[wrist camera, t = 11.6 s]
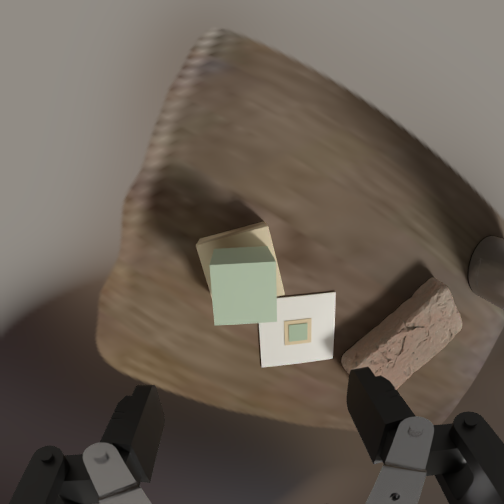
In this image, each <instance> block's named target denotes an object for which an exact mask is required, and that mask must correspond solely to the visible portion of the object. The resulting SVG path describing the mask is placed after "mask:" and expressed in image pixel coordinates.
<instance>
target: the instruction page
mask: <svg viewBox="0 0 504 504" xmlns="http://www.w3.org/2000/svg"><path fill="white" fill-rule="evenodd" d="M335 296H336V292H328V293H319V294H310V295H300V296H290V297H280V298H277V322H266V323H259V334H260V350H261V365H262V367H271V366H280V365H289V364H297V363H305V362H312V361H319V360H326V359H332V358H333V347H334V327H335Z"/></svg>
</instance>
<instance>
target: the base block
mask: <svg viewBox="0 0 504 504" xmlns="http://www.w3.org/2000/svg"><path fill="white" fill-rule="evenodd" d="M257 246H268V248H269V250H270V252H271V254H272V255H273V257H274V259H275V261H276V289H277V296H281V295H285V293H284V289H283V285H282V280H281V276H280V272H279V268H278V264H277V260H276V256H275V252H274V248H273V244H272V240H271V236H270V232H269V228H268V225H267V224H266V223H265V222H260V223H256V224H252V225H248V226H245V227H241V228H237V229H233V230H230V231H226V232H222V233H219V234H215V235H211V236H207V237H204V238H200V239H199V241H198V243H197V244H196V248H197V251H198V255H199V258H200V261H201V265H202V268H203V271H204V274H205V278H206V281H207V284H208V287H209V290H210V293H211V297H212V290H211V278H210V266H209V265H210V261H211V258H212V254H213V251H214V249H219V248H238V247H257Z"/></svg>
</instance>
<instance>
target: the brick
mask: <svg viewBox="0 0 504 504" xmlns="http://www.w3.org/2000/svg"><path fill="white" fill-rule="evenodd" d="M461 328H462V321H461V317H460V313H459V312H458V310H457V308H456V305H455V303H454V300H453V296H452V294H451V292H450V289H449V288H448V287H447V286H446V285H444V284H443V283H442V282H440V281H439V280H437V279H435V278H434V277H431V278H430V279H428V280H427V281H426V282H425V283H424V284H423V285H421V286H420V287H419V288H418V289H417V290H416V291H415V293H414V294H413V295H412V297H411V298H409V299H408V300H407V301H405V302H404V303H402V304H401V305H400V307H398V308H397V309H396V310H395V311H394V312H393V313H392V314H390V315H389V316H388V317H387V318H386V319H384V320H383V321H382V322H381V323H380V324H379V326H376V327H375V328H373V329H372V330H371V331H370V332H369V333H368V334H366V335H365V336H364V337H363V338H361V339H360V340H359V341H358V342H356V344H355V345H353V346H352V347H351V348H350V349H349V350H347V351H346V352H345V353H344V354H343V356H342V359H341V363H342V365H343V367H344V369H345V370H346V372H347V373H348V374H349V373H350V370H352V369H357V368H363V367H369V368H370V369H371V371H372V372H373V374H374V375H375V376H380V375H381V376H383V377H384V378H386V379H388V380H389V381H390V382H391V383H392V384H393V386H394V387H395V390H396V389H397V388H399V387H400V386H401V384H403V383H404V382H405V381H406V380H407V379H408V378H409V377H410V376H411V375H412V373H413V372H415V371H417V370H418V369H419V368H420V367H422V366H423V365H424V364H425V363H427V362H428V361H429V360H430V359H431V358H432V357H434V356H435V355H436V354H437V353H438V352H439V351H440V350H441V349H443V348H444V347H445V346H446V345H447V344H448V342H449V341H451V340H452V339H453V338H454V336H455V334H457V333H458V332H459V331H460V330H461Z"/></svg>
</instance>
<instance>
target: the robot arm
mask: <svg viewBox="0 0 504 504" xmlns="http://www.w3.org/2000/svg"><path fill="white" fill-rule="evenodd" d="M468 277H469V284H470V287H471V289H472V291H473V292H474V293H475V294H476V295H478V296H480V297H482V298H484V299H485V300H487V301H489V302H491V303H492V304H494V305H496V306H498V307H500V308H501V309H503V310H504V239H503V238H499V237H496V236H489V237H486V238H485V239H483V240H482V241H481V242H480V243H479V244H478V246H477V247H476V249H475V251H474V253H473V255H472V258H471V261H470V266H469V275H468ZM347 407H348V411H349V413H350V415H351V417H352V419H353V421H354V424H355V426H356V428H357V430H358V432H359V434H360V436H361V438H362V440H363V443H364V445H365V447H366V449H367V451H368V453H369V456H370V458H371V460H372V462H373V464H376V463H380V462H383V463H384V465H383V467H382V469H381V472H380V474H379V476H378V479H377V481H376V483H375V485H374V487H373V490H372V491H371V494H370V496H369V498H368V500H367V502H366V504H417V503H418V500H419V497H420V494H421V491H422V488H423V484H424V481H425V477H426V476H429V475H435V477H436V479H437V481H438V483H439V485H440V486H441V488H442V491H443V492H444V494H445V496H446V498H447V500H448V502H449V504H504V444H503V442H502V441H501V440H500V438H499V437H498V436H497V435H496V433H495V432H494V431H493V429H492V428H491V427H490V426H489V424H488V423H487V422H486V421H485V420H484V418H483V417H482V416H481V415H479V414H477V413H474V412H463V413H460V414H459V415H457V416H456V417H455V419H454V421H453V424H445V425H433V424H432V423H431V422H430V421H429V420H427V419H425V418H423V417H416V416H415V415H414V413H413V412H412V411H411V409H410V408H409V407H408V405H407V404H406V402H405V401H404V400H403V398H402V397H401V396H400V394H399V393H398V391H397V390H395V387H394V386H393V384H392V383H391V382H390V381H389V380H388V379H386V378H384V377H383V376H381V375H380V376H375V375H374V374H373V372H372V371H371V369H370V368H369V367H363V368H357V369H352V370H350V373H349V382H348V390H347ZM164 422H165V419H164V412H163V409H162V405H161V402H160V399H159V395H158V392H157V388H156V386H155V385H137V386H136V388H135V390H134V392H133V394H132V396H125V397H124V398H123V399H122V400H121V401H120V402H119V403H118V405H117V407H116V409H115V413H113V415H112V418H111V420H110V422H109V424H108V426H107V428H106V430H105V432H104V435H103V437H102V439H101V441H100V443H96V444H93V445H91V446H89V447H88V448H87V449H86V450H85V451H84V453H83V454H81V455H67V456H64V454H63V453H62V451H61V450H60V449H59V448H57V447H55V446H45V447H42V448H40V449H38V450H37V451H36V452H35V453H34V455H33V457H32V458H31V460H30V462H29V464H28V466H27V468H26V470H25V472H24V474H23V476H22V478H21V480H20V482H19V484H18V486H17V488H16V490H15V492H14V495H13V497H12V499H11V501H10V503H9V504H95V503H100V504H151V502H150V501H149V499H148V498H147V497H146V495H145V493H144V492H143V491H142V489H141V487H140V482H149V483H150V481H151V477H152V472H153V468H154V464H155V460H156V456H157V452H158V448H159V444H160V440H161V436H162V432H163V428H164Z"/></svg>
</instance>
